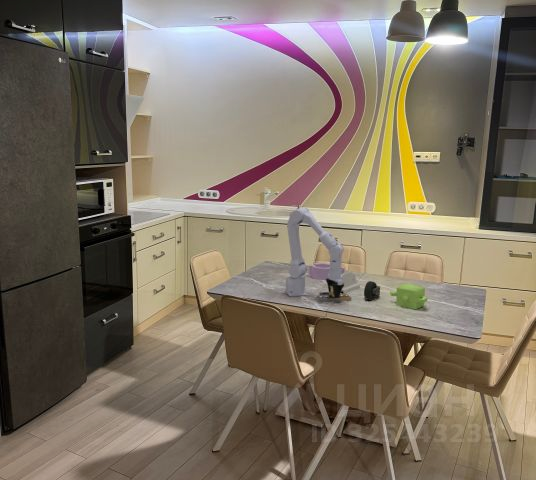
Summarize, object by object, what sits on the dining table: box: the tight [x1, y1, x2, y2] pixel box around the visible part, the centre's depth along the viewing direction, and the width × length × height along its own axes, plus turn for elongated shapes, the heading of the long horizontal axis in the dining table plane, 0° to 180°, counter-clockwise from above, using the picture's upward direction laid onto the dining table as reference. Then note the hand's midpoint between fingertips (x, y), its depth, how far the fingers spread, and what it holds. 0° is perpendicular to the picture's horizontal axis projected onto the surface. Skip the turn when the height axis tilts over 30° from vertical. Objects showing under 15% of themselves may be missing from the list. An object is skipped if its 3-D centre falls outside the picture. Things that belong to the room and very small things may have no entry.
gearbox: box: [390, 283, 428, 310], centre depth 238 cm, size 18×10×10 cm, turn 48°
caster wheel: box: [363, 280, 381, 301], centre depth 249 cm, size 6×10×15 cm
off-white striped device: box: [341, 272, 361, 294], centre depth 263 cm, size 17×5×10 cm, turn 139°
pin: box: [330, 285, 335, 298], centre depth 245 cm, size 4×4×7 cm
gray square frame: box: [318, 291, 331, 295], centre depth 251 cm, size 5×5×1 cm
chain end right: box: [328, 293, 352, 302], centre depth 246 cm, size 10×6×2 cm, turn 104°
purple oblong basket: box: [308, 262, 346, 281], centre depth 285 cm, size 20×12×7 cm, turn 60°
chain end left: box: [316, 294, 342, 303], centre depth 244 cm, size 10×6×2 cm, turn 104°
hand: (334, 295), depth 245 cm, fingers open, 7 cm apart
